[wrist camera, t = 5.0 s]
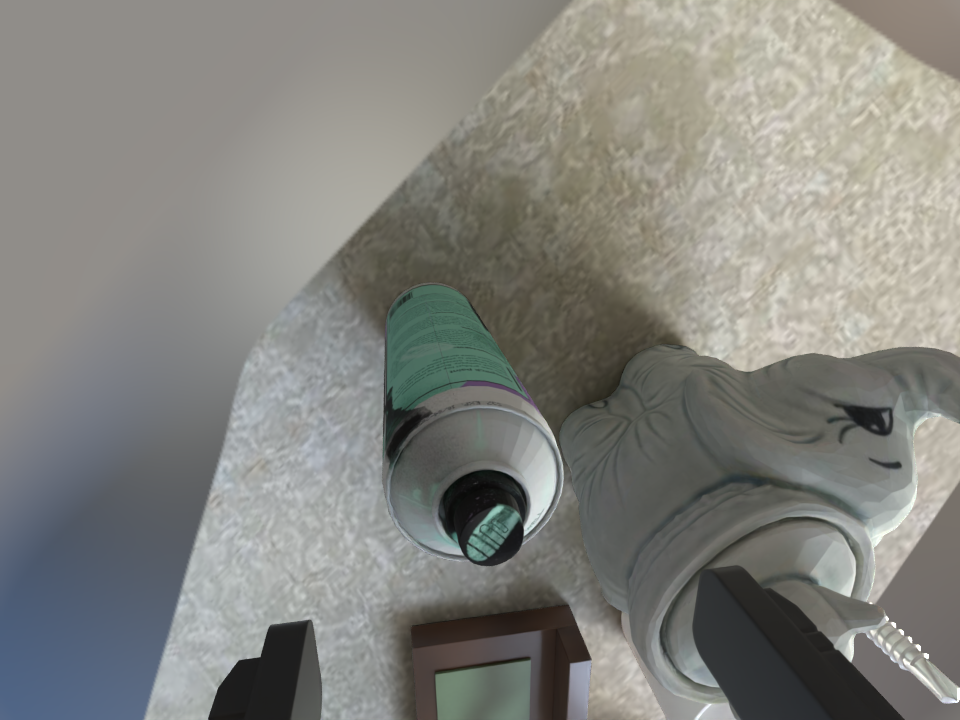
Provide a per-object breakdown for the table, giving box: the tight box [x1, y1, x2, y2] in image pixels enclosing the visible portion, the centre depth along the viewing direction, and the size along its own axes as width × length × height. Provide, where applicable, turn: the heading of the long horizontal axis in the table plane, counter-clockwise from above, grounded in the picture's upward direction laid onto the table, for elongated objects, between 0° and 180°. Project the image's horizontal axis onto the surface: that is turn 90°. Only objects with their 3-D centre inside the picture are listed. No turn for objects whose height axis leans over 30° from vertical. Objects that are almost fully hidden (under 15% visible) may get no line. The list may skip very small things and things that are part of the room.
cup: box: [621, 611, 737, 720], centre depth 38 cm, size 8×12×10 cm
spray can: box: [382, 282, 564, 566], centre depth 23 cm, size 6×6×20 cm
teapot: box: [559, 344, 960, 720], centre depth 28 cm, size 16×15×19 cm
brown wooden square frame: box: [411, 605, 592, 720], centre depth 40 cm, size 12×12×5 cm
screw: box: [864, 602, 960, 703], centre depth 37 cm, size 13×5×5 cm
